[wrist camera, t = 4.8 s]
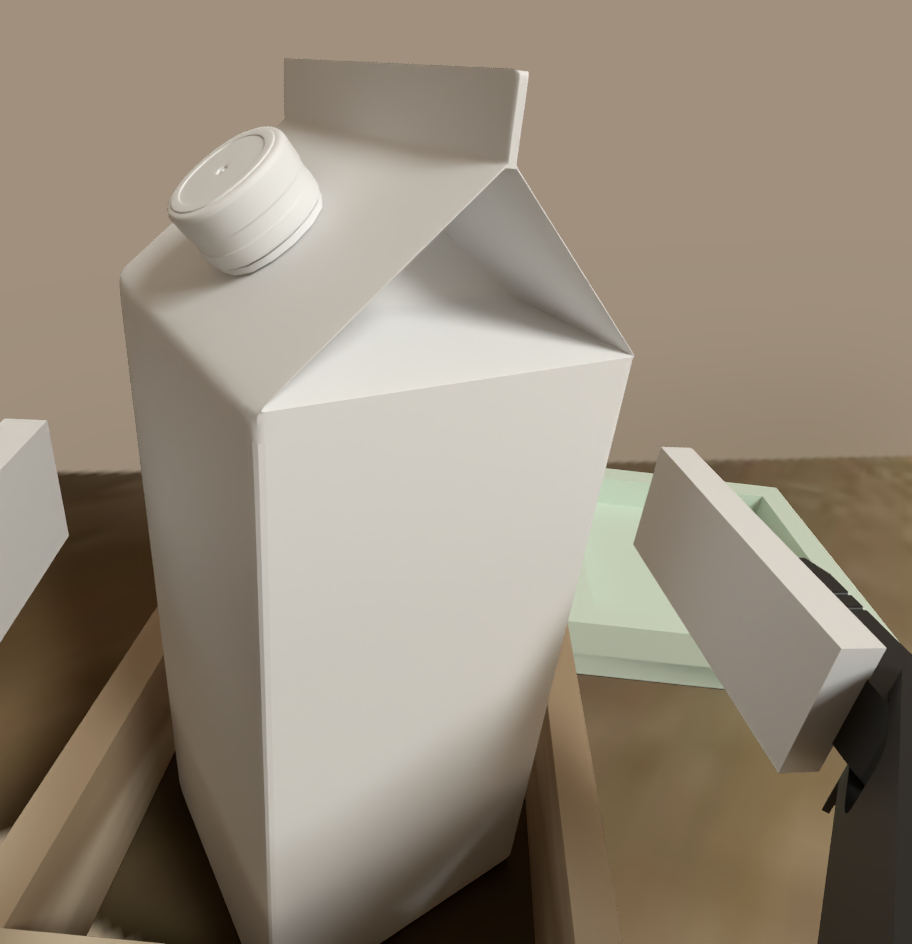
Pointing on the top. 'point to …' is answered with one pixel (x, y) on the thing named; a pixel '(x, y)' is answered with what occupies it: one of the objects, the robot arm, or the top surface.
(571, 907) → the holder
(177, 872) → the top surface
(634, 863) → the top surface
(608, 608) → the tray
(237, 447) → the milk carton
